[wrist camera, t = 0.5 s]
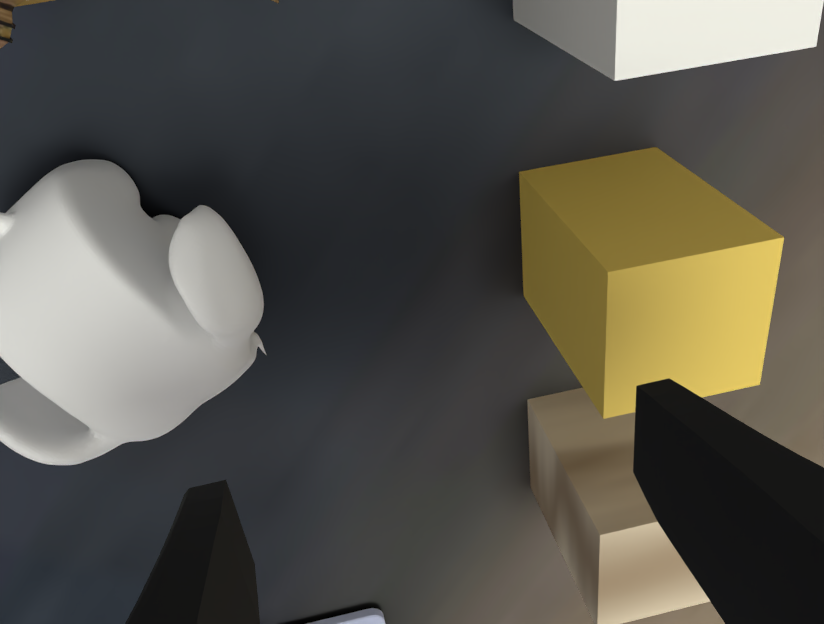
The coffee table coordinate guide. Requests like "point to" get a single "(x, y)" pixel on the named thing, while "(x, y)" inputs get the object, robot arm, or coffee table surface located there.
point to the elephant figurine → (115, 315)
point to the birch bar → (603, 511)
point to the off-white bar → (670, 31)
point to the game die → (0, 17)
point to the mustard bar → (646, 276)
